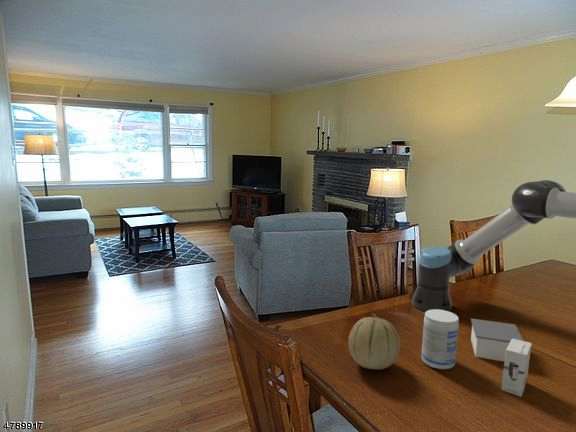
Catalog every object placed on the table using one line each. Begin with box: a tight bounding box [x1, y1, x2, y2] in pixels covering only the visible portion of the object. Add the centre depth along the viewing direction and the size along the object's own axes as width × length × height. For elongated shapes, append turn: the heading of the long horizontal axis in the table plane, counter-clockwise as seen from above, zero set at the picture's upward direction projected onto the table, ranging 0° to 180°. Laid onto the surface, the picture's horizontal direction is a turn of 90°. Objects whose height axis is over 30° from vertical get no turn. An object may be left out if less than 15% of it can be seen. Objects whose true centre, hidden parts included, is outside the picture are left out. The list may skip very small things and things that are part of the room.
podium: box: [470, 318, 524, 363], centre depth 123 cm, size 13×13×7 cm
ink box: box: [501, 338, 532, 397], centre depth 104 cm, size 9×5×12 cm, turn 141°
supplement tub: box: [420, 309, 460, 370], centre depth 115 cm, size 10×10×15 cm
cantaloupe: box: [348, 313, 401, 370], centre depth 112 cm, size 15×15×15 cm
